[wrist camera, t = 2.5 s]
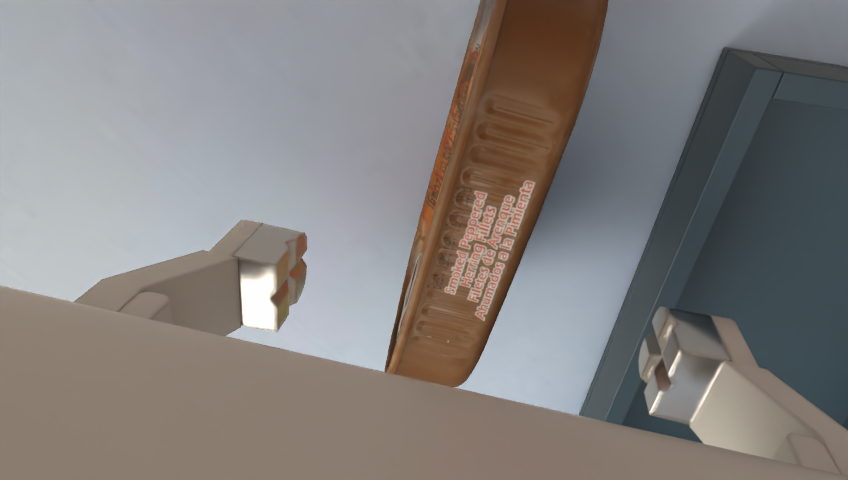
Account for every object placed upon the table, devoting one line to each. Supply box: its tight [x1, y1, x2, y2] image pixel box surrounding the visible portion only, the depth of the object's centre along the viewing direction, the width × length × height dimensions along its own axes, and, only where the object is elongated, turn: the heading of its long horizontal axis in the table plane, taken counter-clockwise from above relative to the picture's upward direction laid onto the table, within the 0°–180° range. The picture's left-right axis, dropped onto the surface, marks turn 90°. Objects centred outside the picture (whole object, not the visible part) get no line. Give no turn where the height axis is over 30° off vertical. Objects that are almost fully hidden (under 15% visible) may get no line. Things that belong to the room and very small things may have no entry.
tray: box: [579, 47, 848, 444], centre depth 22 cm, size 12×20×3 cm, turn 172°
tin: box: [385, 0, 608, 387], centre depth 18 cm, size 15×3×8 cm, turn 166°
